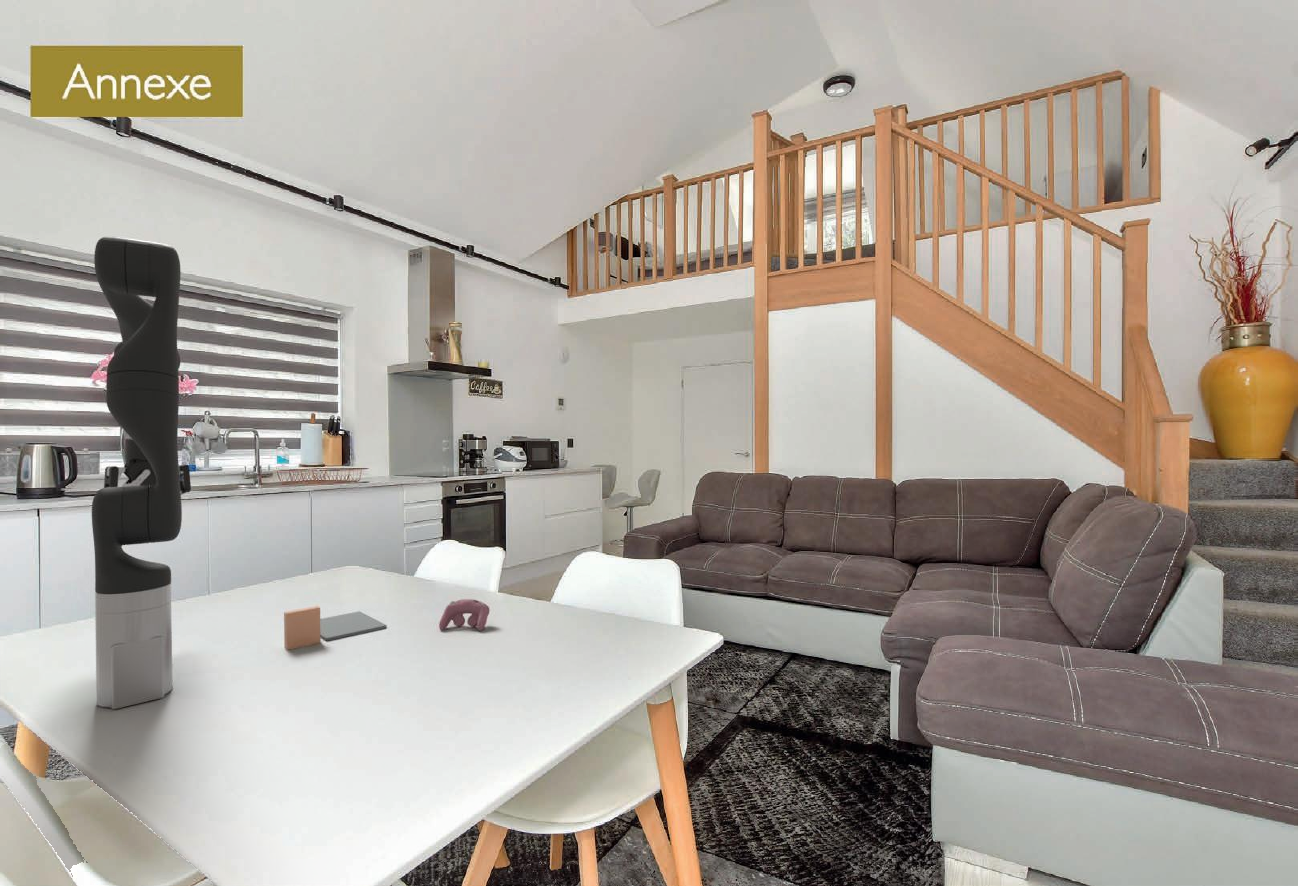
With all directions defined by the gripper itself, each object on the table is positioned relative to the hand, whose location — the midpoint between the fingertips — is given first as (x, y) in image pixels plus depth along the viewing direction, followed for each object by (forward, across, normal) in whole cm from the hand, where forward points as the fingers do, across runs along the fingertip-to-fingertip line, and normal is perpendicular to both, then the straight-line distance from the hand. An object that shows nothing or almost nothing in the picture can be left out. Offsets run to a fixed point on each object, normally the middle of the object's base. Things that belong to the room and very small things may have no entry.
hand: (149, 515), depth 126 cm
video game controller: (+26, +33, -54) cm, 69 cm away
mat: (+26, +22, -29) cm, 45 cm away
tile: (+26, +11, -33) cm, 43 cm away
